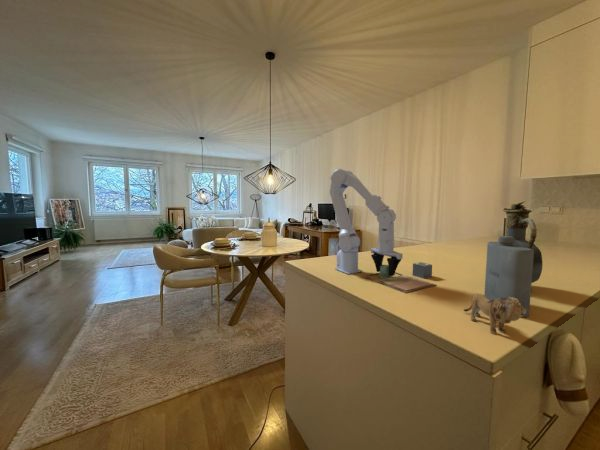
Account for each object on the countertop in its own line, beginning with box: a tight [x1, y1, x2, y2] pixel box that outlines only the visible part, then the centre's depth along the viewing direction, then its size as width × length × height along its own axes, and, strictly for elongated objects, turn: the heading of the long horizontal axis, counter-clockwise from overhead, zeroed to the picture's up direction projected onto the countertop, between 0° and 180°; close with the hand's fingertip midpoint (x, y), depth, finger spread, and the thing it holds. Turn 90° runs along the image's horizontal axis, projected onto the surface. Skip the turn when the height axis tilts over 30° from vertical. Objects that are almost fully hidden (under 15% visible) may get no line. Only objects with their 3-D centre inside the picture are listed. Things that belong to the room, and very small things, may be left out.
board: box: [361, 271, 437, 294], centre depth 94 cm, size 21×16×1 cm
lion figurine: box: [463, 293, 527, 335], centre depth 59 cm, size 15×5×9 cm, turn 8°
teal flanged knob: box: [378, 264, 393, 279], centre depth 99 cm, size 5×5×4 cm
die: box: [412, 261, 433, 279], centre depth 100 cm, size 5×5×5 cm
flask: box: [483, 235, 534, 318], centre depth 70 cm, size 15×6×20 cm, turn 169°
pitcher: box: [502, 200, 543, 284], centre depth 83 cm, size 11×19×30 cm, turn 160°
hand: (385, 273), depth 99 cm, fingers open, 6 cm apart
